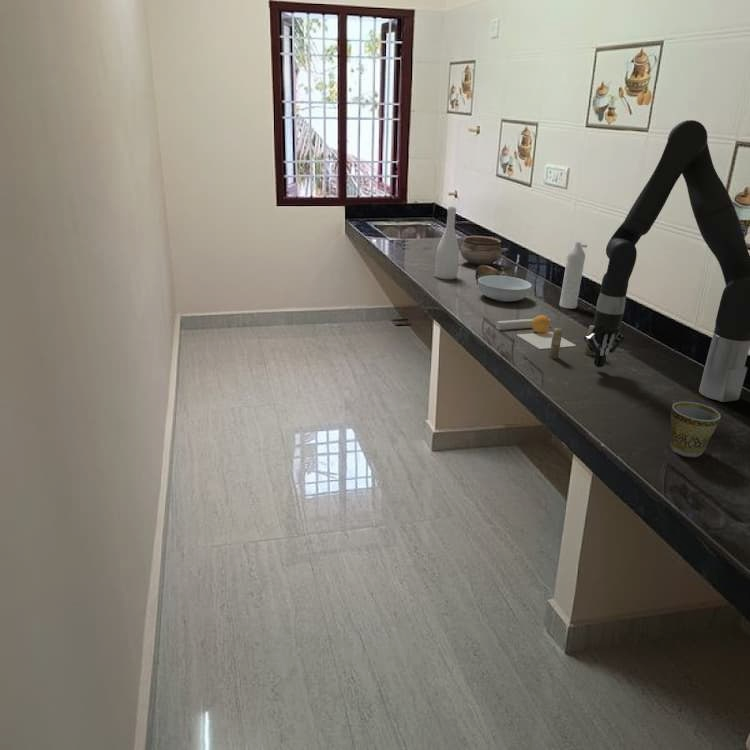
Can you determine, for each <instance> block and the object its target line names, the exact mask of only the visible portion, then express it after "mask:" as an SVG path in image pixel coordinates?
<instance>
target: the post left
mask: <svg viewBox="0 0 750 750" xmlns="http://www.w3.org/2000/svg"><path fill="white" fill-rule="evenodd" d="M552 332H553V337H552V343H551V349H549V356H548V357H549V358H550V359H554V360H555V359H558V358H559V354H560V349H561V348H560V343H561V337H562V336H563V329H562V328H560V327H555V328H553V331H552ZM562 338H563V337H562Z"/></svg>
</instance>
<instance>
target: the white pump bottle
mask: <svg viewBox="0 0 750 750" xmlns="http://www.w3.org/2000/svg"><path fill="white" fill-rule="evenodd" d="M583 248H584V249H585V248H588V244H586V243H583V242H581V241H575V242H574V245H573V247H572V248H571V249H570V250H569V251H568V252H567V256H566V263H565V269H564V275H563V280H562V285H561V288H562V289H561V294H560V299H559V306H560V308H563V309H570V310H571V309H572V310H573V309H576V308H577V306H578V300H579V295H580V288H581V287H580V286H581V281H582V276H583V271H584V266H585V259H586V252H585V251H584V249H583Z"/></svg>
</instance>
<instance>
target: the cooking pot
mask: <svg viewBox="0 0 750 750" xmlns="http://www.w3.org/2000/svg"><path fill="white" fill-rule="evenodd" d="M462 238H463V241H462V244H461V246H459V245H458V247H459V252H460V255H461V256H462V258H463V260H464V261H466V262H468V263H469V264H471V266H473V267H477V268H478V267H479V266H480V265H486V266H490V265H491V264H494V263H495V262H496V261H498V260H499V259H500V256H501V254H503V253H504V252H506V251H508V250H509V249H508V248H507V247H504V248H502V247H501V244H500V243H501V242H502V240H501V239H500V238H496V237H492V236H484V235H467V236H464V237H462Z"/></svg>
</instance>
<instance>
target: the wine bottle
mask: <svg viewBox="0 0 750 750" xmlns="http://www.w3.org/2000/svg"><path fill="white" fill-rule="evenodd" d="M446 212H447V215H446V216H447V218H446V225H445V226H446V227H445V230H444V231H443V234H442V237H441V238H440V241H439V243H438V245H437V248H436V249H437V250H436V256H435V257H436V258H435V266H434V267H435V269H434V276H435V277H436V278H437V279H440V280H446V281H447V280H455V279H456V278H457V275H458V269H459V268H458V266H459V257H460V250H459V247H458V246H459V243H458V239H457V234H456V229H455V224H456V223H455V221H456V213H457V208H456V207H455V206H448V207H447V211H446Z"/></svg>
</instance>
